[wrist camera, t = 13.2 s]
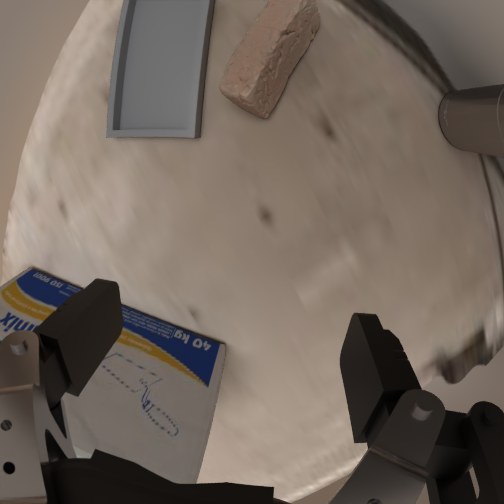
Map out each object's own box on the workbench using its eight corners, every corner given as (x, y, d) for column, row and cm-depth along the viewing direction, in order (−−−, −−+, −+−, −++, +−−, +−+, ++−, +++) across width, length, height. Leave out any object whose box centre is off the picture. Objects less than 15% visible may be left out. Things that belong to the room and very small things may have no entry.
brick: (280, -21, 24) (317, -12, 23) (295, 14, 32) (326, 24, 31) (208, 87, 29) (245, 102, 28) (237, 108, 37) (267, 122, 36)
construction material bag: (232, 340, 51) (195, 503, 23) (216, 382, 55) (182, 523, 27) (30, 261, 49) (-74, 341, 22) (34, 306, 54) (-51, 390, 26)
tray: (217, -16, 30) (213, -24, 28) (200, 137, 39) (194, 137, 36) (134, -7, 31) (126, -13, 28) (116, 136, 40) (106, 137, 37)
